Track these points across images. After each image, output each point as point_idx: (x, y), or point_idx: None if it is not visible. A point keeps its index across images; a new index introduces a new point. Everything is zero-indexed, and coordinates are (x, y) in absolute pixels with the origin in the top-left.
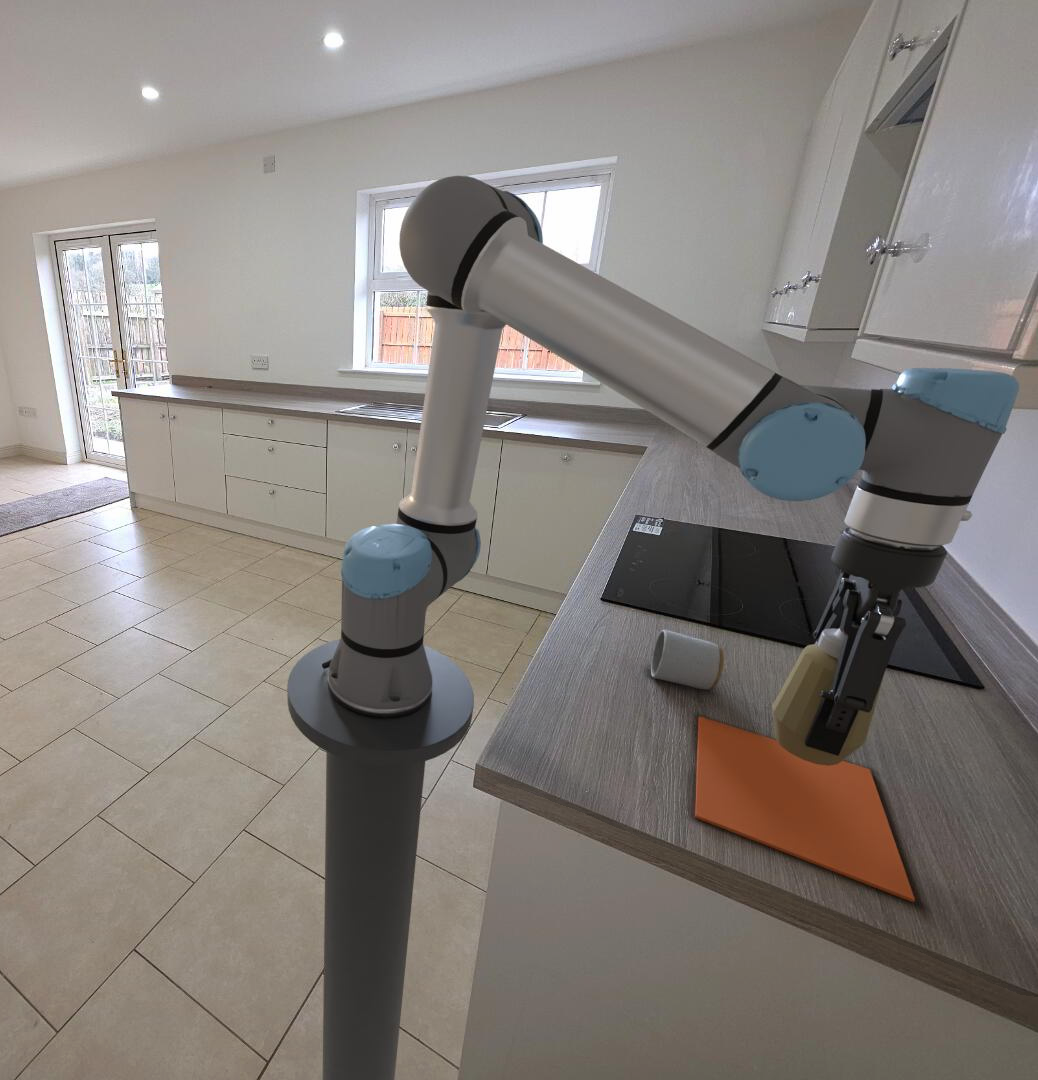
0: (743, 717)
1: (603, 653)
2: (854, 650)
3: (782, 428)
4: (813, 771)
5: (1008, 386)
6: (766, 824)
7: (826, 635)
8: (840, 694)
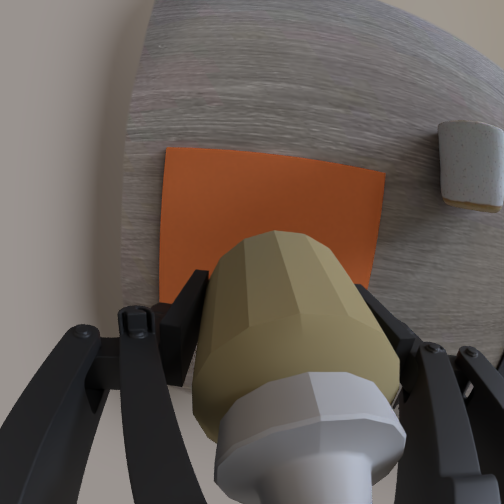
0: (408, 233)
1: (459, 83)
2: (4, 445)
3: None
4: None
5: None
6: (190, 222)
7: (320, 427)
8: (60, 340)
